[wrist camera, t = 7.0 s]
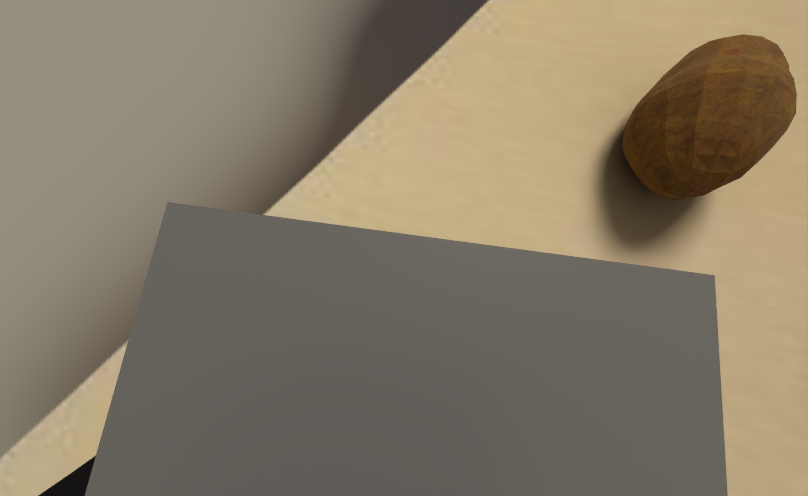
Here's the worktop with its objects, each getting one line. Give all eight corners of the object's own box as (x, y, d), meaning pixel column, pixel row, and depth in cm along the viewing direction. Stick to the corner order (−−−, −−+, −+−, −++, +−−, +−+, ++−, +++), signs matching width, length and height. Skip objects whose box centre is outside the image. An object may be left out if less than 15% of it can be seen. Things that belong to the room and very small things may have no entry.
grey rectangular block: (442, 419, 14) (761, 1074, 2) (329, 405, 14) (-60, 997, 2) (454, 304, 15) (714, 275, 3) (347, 290, 15) (167, 203, 3)
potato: (728, 104, 26) (864, 21, 19) (689, 239, 24) (826, 206, 16) (634, 65, 27) (730, -33, 19) (586, 193, 24) (674, 140, 17)
